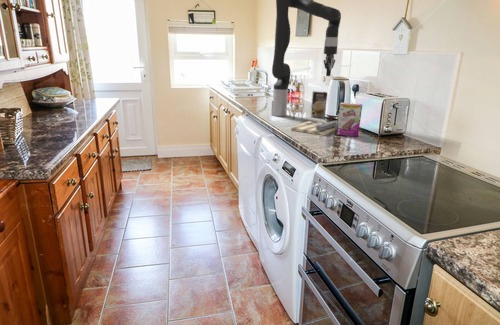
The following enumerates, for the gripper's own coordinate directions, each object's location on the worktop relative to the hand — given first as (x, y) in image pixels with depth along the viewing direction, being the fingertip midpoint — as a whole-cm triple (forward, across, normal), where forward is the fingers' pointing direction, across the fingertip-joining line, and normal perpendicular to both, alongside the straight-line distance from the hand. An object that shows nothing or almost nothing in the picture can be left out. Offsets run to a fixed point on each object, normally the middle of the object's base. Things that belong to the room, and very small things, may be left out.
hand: (328, 76), depth 207 cm
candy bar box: (+27, +30, +25) cm, 48 cm away
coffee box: (+27, -8, -8) cm, 29 cm away
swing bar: (+25, +29, +13) cm, 40 cm away
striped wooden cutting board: (+27, +26, +6) cm, 38 cm away
